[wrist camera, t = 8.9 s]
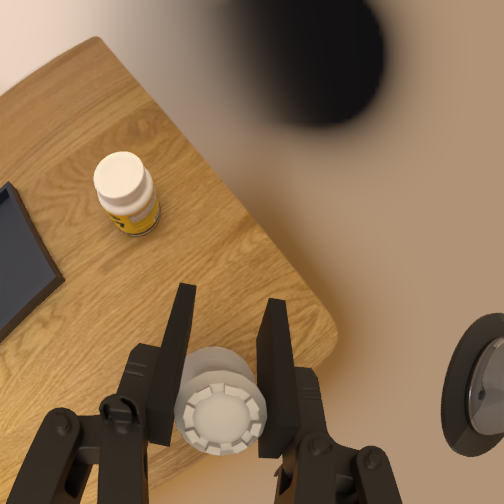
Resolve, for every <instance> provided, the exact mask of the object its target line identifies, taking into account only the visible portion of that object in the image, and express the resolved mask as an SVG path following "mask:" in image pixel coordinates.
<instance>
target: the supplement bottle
mask: <svg viewBox="0 0 504 504" xmlns="http://www.w3.org/2000/svg"><path fill="white" fill-rule="evenodd" d="M94 185H95V188H96V190H97V194H98V199H99V202H100V203H101V205H102V207H103V208H104V210H105V211H106V212H107V214H108V215H109V216H110V218H111V219H112V221H113V222H114V223H115V225H116V226H117V227H118V228H119V229H120V230H121V231H122V232H123V233H125V234H127V235H130V236H141V235H144V234H146V233H148V232H149V231H151V230H152V229H153V228H154V227H155V226H156V224H157V222H158V220H159V218H160V204H159V201H158V197H157V194H156V191H155V187H154V184H153V180H152V177H151V175H150V173H149V172H148V170H147V169H146V168H145V167H144V166H143V164H142V162H141V160H140V159H139V158H138V157H137V156H136V155H134V154H132V153H130V152H116V153H113V154H110V155H108V156H107V157H105V158H104V159H103V160H102V161H101V162H100V163H99V164H98V166H97V168H96V170H95V173H94Z"/></svg>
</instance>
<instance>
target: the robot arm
mask: <svg viewBox="0 0 504 504" xmlns="http://www.w3.org/2000/svg"><path fill="white" fill-rule="evenodd" d="M196 287H197V286H196V285H190V284H185V283H180V284H179V288H178V291H177V294H176V297H175V301H174V304H173V307H172V310H171V314H170V317H169V321H168V324H167V327H166V331H165V334H164V338H163V341H162V345H161V347H156V346H151V345H146V344H142V343H139V344H138V345H137V346H136V347H135V348H134V349H133V350H132V351H131V353H130V355H129V358H128V361H127V364H126V367H125V370H124V372H123V375H122V378H121V381H120V384H119V387H118V390H117V393H116V394H112V395H110V396H108V397H106V398H105V399H104V400H103V401H102V402H101V404H100V406H99V411H100V414H99V415H93V416H77V415H76V414H75V413H74V412H73V411H71V410H70V409H67V408H63V407H61V408H55V409H53V410H51V411H49V412H48V414H47V415H46V416H45V418H44V420H43V422H42V424H41V426H40V428H39V430H38V432H37V434H36V436H35V438H34V440H33V442H32V444H31V446H30V448H29V451H28V453H27V455H26V457H25V459H24V462H23V464H22V466H21V468H20V471H19V473H18V475H17V477H16V480H15V482H14V485H13V487H12V489H11V492H10V494H9V497H8V499H7V502H6V504H80V501H81V498H82V495H83V492H84V489H85V486H86V483H87V481H88V478H89V475H90V472H91V469H92V467H93V464H99V473H98V498H97V504H149V497H148V457H147V446H148V441H149V443H153V444H158V445H163V446H168V447H170V441H171V435H172V429H173V423H174V406H175V403H176V399H177V396H178V393H179V389H180V384H181V378H182V373H183V368H184V363H185V358H186V352H187V347H188V342H189V337H190V332H191V327H192V318H193V310H194V302H195V294H196ZM256 349H257V387H258V389H259V391H260V392H261V394H262V396H263V397H264V399H265V401H266V409H267V420H266V423H265V426H264V430H263V433H262V434H261V435H260V436H259V437H258V443H259V444H258V447H259V448H258V450H259V451H258V453H259V458H275V459H278V458H279V457H280V456H281V454H282V457H283V463H282V465H281V466H280V467H279V468H278V470H277V471H276V472H275V474H274V476H275V477H276V476H278V481H277V488H276V495H275V501H274V504H402V501H401V497H400V494H399V491H398V488H397V484H396V481H395V478H394V475H393V472H392V469H391V466H390V462H389V459H388V457H387V455H386V454H385V452H384V451H383V450H382V449H380V448H378V447H376V446H366V447H364V448H362V449H361V450H356V449H352V448H348V447H345V446H342V445H339V444H338V443H336V442H335V441H334V440H333V439H332V438H331V437H330V435H329V434H328V431H327V427H326V421H325V416H324V410H323V404H322V400H321V393H320V391H319V390H320V387H319V382H318V378H317V376H316V375H315V373H314V372H313V370H312V368H304V367H294V361H293V354H292V346H291V339H290V331H289V324H288V317H287V310H286V303H285V300H280V299H274V298H269V300H268V303H267V306H266V310H265V313H264V316H263V319H262V323H261V326H260V329H259V332H258V336H257V339H256ZM464 407H465V416H466V420H467V423H468V425H469V427H470V428H471V429H472V430H473V431H474V432H476V433H479V434H483V435H494V434H498V433H503V432H504V337H499V338H494V339H492V340H490V341H489V342H487V343H486V344H485V345H484V346H483V348H482V349H481V350H480V352H479V353H478V355H477V357H476V359H475V360H474V363H473V365H472V367H471V370H470V373H469V376H468V380H467V384H466V390H465V400H464Z"/></svg>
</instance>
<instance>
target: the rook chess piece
mask: <svg viewBox="0 0 504 504" xmlns="http://www.w3.org/2000/svg"><path fill="white" fill-rule="evenodd" d="M174 417H175V423H176V427H177V429H178V430H179V432H180V433H181V435H182V436H183V438H184V439H185V441H186V442H187V443H189V444H190V445H192V446H193V447H195V448H196V449H198V450H199V451H201V452H205V453H209V454H214V455H217V456H220V455H228V454H237V453H239V452H241V451H243V450H245V449H247V448H248V447H249V446H251V445H252V444H253V443H254V442H255V441H256V440H257V439H258V437H259V436H260V435H261V434H262V433H263V430H264V426H265V423H266V420H267V409H266V401H265V399H264V397H263V396H262V394H261V392H260V391H259V389H258V387H257V386H256V385H255V377H254V374H253V372H252V371H251V369H250V367H249V366H248V364H247V362H246V360H244V359H243V358H242V357H240V356H239V355H238V354H237V353H235V352H234V351H232V350H229V349H225V348H222V347H218V346H216V347H205V348H200V349H198V350H197V351H195V352H193V353H191V354H189V355H187V357H186V358H185V363H184V368H183V373H182V378H181V384H180V389H179V393H178V396H177V399H176V403H175V406H174Z"/></svg>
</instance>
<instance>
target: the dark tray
mask: <svg viewBox="0 0 504 504" xmlns="http://www.w3.org/2000/svg"><path fill="white" fill-rule="evenodd" d="M64 281H65V280H64V278H63V276H62V275H61V273H60V271H59V270H58V268H57V266H56V265H55V263H54V261H53V259H52V258H51V256H50V254H49V252H48V251H47V249H46V247H45V245H44V243H43V242H42V240H41V238H40V236H39V234H38V232H37V230H36V228H35V227H34V225H33V223H32V221H31V219H30V217H29V215H28V213H27V211H26V208H25V206H24V204H23V202H22V200H21V198H20V196H19V194H18V191H17V189H16V188H15V187H14V186H13V185H12V184H11V183H10V182H9V181H8V182H7V183H6V184H5V185H3V186H2V187H1V188H0V343H1V341H2V340H3V339H4V338H5V337H6V336H7V335H8V334H9V333H10V332H11V331H12V330H13V329H14V328H15V327H16V326H17V325H18V324H19V323H20V322H21V321H22V320H23V319H24V318H25V317H26V316H27V315H28V314H29V313H30V312H31V311H32V310H34V309H35V308H36V307H37V306H38V305H39V304H40V303H41V302H42V301H43V300H44V299H45V298H46V297H47V296H48V295H49V294H51V293H52V292H53V291H54V290H55V289H56V288H57V287H58V286H59V285H60V284H62V283H63V282H64Z"/></svg>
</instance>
